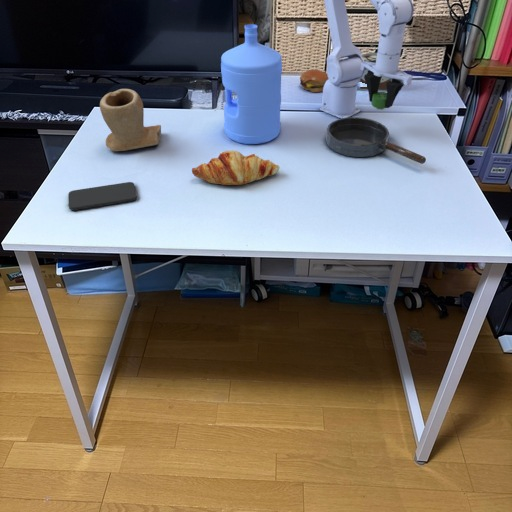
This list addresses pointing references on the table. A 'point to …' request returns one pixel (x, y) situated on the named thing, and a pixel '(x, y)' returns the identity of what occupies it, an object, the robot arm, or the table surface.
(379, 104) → the green short cylinder
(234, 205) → the table surface
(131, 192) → the phone
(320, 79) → the burger
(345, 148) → the pan
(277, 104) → the water jug
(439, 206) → the table surface
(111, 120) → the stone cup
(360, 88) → the food container
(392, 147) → the pan handle
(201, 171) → the croissant
